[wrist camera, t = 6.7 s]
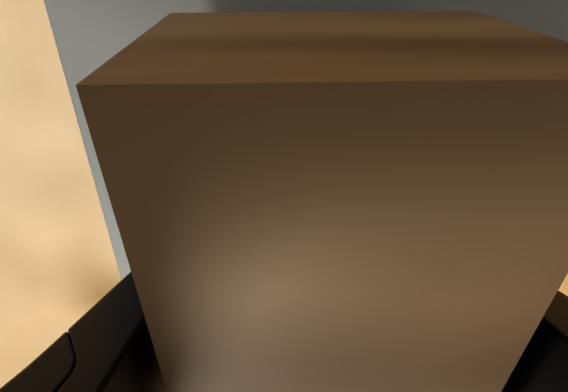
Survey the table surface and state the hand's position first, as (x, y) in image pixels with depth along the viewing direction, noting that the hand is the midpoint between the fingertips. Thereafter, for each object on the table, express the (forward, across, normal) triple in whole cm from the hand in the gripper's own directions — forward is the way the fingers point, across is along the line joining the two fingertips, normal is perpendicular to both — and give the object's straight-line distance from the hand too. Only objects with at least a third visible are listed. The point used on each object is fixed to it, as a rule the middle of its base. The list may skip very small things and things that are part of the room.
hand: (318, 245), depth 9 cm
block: (+1, 0, 0) cm, 1 cm away
